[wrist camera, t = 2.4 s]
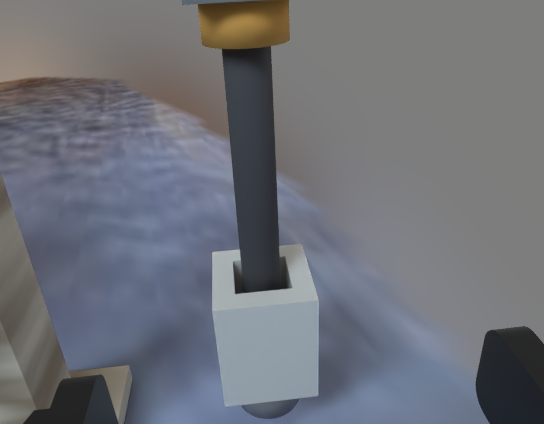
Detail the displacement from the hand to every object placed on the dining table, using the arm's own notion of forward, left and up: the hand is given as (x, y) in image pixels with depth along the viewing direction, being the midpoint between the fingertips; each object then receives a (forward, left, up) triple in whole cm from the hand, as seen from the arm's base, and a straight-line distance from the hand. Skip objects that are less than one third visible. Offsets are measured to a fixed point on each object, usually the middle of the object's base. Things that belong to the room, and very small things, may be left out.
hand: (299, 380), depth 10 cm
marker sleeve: (-8, +8, -11) cm, 16 cm away
